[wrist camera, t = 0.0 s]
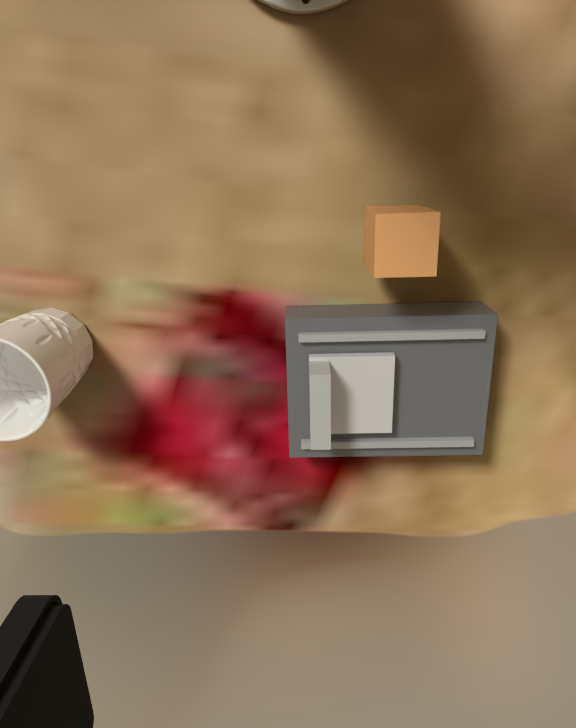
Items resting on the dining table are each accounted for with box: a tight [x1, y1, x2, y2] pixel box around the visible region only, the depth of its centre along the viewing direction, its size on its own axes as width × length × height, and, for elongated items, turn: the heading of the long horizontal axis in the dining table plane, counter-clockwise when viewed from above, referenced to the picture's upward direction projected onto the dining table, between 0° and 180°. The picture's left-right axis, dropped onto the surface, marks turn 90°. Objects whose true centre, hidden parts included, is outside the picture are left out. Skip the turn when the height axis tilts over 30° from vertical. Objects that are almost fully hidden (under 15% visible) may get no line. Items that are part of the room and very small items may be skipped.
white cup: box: [0, 308, 93, 441], centre depth 42 cm, size 8×8×10 cm
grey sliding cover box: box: [285, 302, 498, 458], centre depth 45 cm, size 12×16×5 cm
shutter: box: [309, 352, 395, 450], centre depth 41 cm, size 6×6×4 cm
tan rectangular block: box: [364, 205, 441, 278], centre depth 38 cm, size 4×4×9 cm
